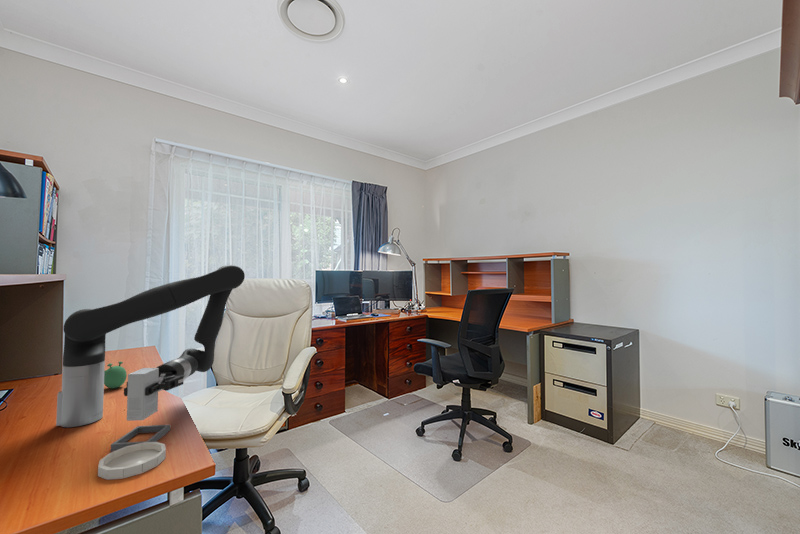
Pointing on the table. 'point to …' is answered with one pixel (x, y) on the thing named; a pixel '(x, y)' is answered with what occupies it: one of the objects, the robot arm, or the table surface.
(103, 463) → the bowl
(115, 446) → the tray
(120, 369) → the alien toy
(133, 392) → the skincare box
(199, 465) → the table surface
